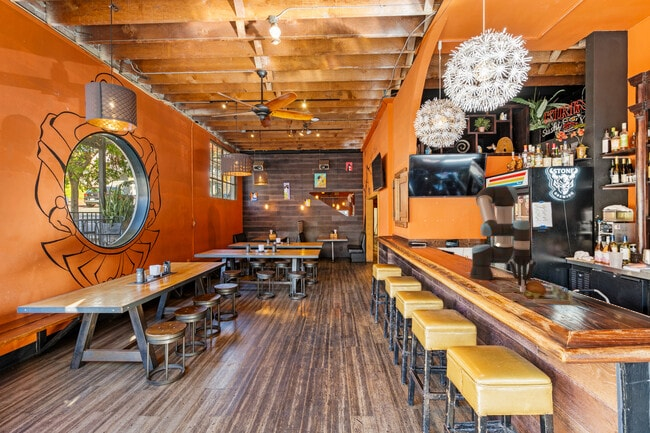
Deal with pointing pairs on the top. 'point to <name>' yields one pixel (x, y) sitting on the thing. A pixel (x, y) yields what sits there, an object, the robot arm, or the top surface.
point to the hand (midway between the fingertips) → (522, 291)
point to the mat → (531, 304)
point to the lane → (559, 293)
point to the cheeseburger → (534, 290)
